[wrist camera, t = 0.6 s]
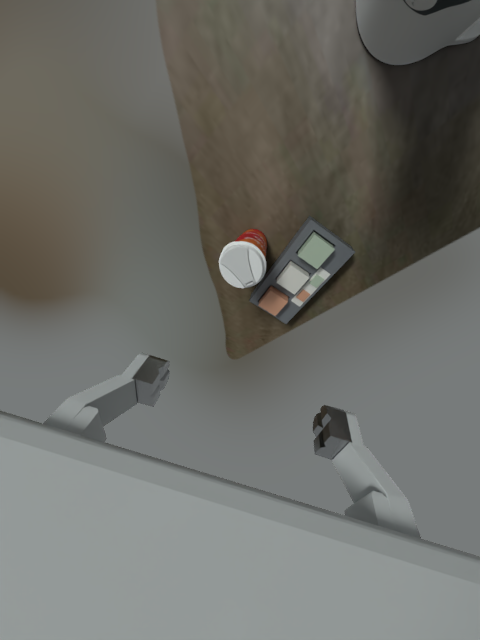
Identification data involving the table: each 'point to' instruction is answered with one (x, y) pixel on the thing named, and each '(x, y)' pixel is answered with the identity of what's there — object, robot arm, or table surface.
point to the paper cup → (244, 259)
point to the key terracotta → (273, 301)
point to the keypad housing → (315, 275)
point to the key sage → (315, 250)
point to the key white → (292, 277)
